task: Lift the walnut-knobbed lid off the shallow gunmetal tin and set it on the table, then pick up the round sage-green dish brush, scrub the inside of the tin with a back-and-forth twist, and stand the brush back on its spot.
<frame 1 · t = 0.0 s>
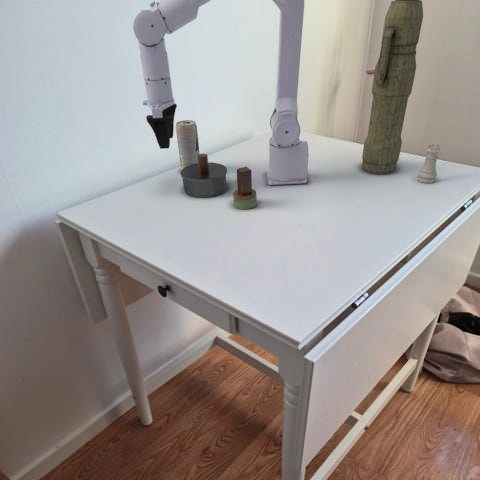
hand: (166, 142, 100), 10 cm above the table, tool pointing down, fingers open, 7 cm apart
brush: (245, 204, 96), on the table
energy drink: (191, 171, 114), on the table
rook chess piece: (425, 180, 102), on the table
tin: (205, 188, 104), on the table
green robed figurine: (378, 169, 109), on the table
tin lid: (204, 172, 101), point 4 cm above the table, touching tin
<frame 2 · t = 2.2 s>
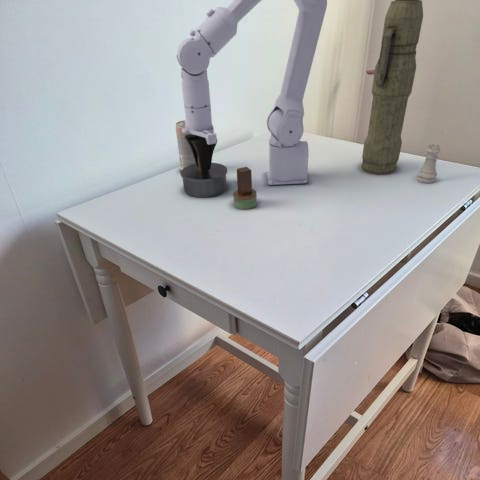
hand: (203, 167, 100), 5 cm above the table, tool pointing down, fingers closed on tin lid, 2 cm apart
tin lid: (204, 172, 101), point 4 cm above the table, touching gripper, tin
everything else where it was.
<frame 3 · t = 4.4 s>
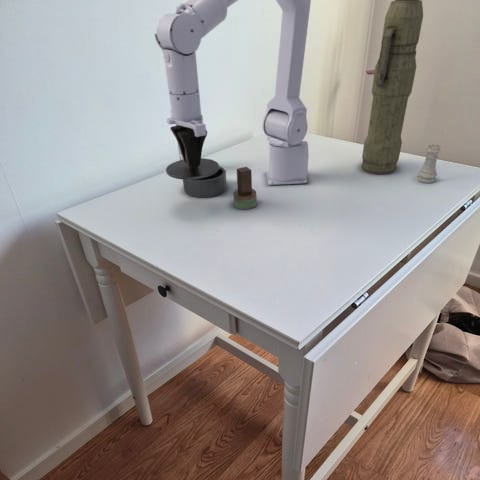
hand: (192, 163, 89), 10 cm above the table, tool pointing down, fingers closed on tin lid, 2 cm apart
tin lid: (192, 169, 89), point 9 cm above the table, touching gripper
everything else where it was.
when the fingers open (2 cm above the table, at t = 6.7 s): tin lid stays where it is, point 1 cm above the table.
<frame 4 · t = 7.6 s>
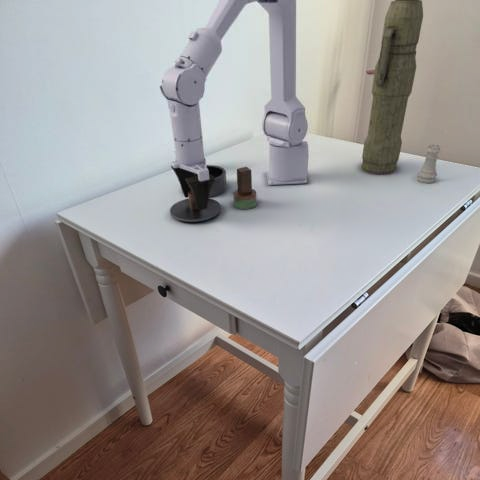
hand: (195, 202, 92), 2 cm above the table, tool pointing down, fingers open, 7 cm apart
tin lid: (195, 210, 93), point 1 cm above the table
everything else where it was.
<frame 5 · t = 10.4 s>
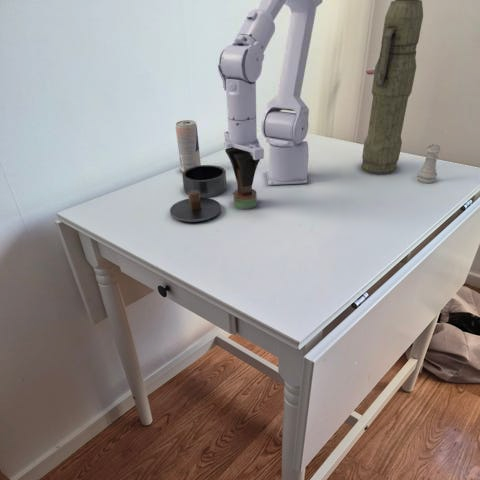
hand: (244, 183, 93), 5 cm above the table, tool pointing down, fingers closed on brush, 2 cm apart
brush: (245, 204, 96), on the table, touching gripper
everything else where it was.
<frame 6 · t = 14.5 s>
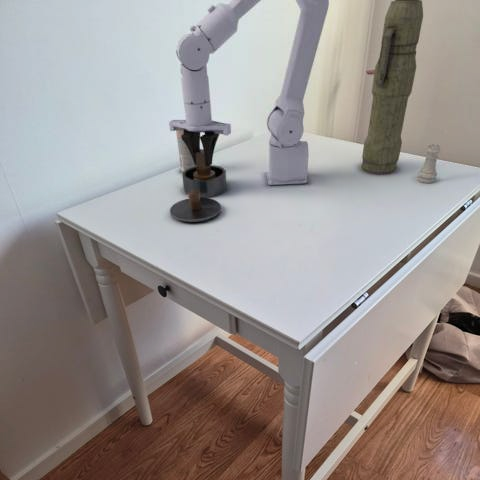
hand: (203, 164, 100), 6 cm above the table, tool pointing down, fingers closed on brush, 2 cm apart
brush: (205, 184, 103), point 1 cm above the table, touching gripper
everything else where it was.
when the fingers open (5 cm above the table, at t = 18.9 s): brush stays where it is, on the table.
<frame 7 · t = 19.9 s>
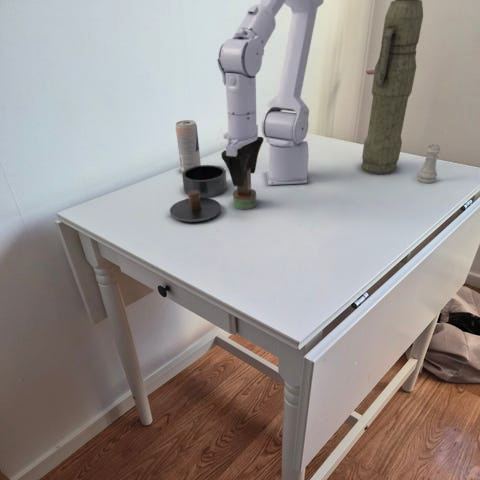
hand: (244, 179, 92), 6 cm above the table, tool pointing down, fingers open, 7 cm apart
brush: (244, 204, 96), on the table
everything else where it was.
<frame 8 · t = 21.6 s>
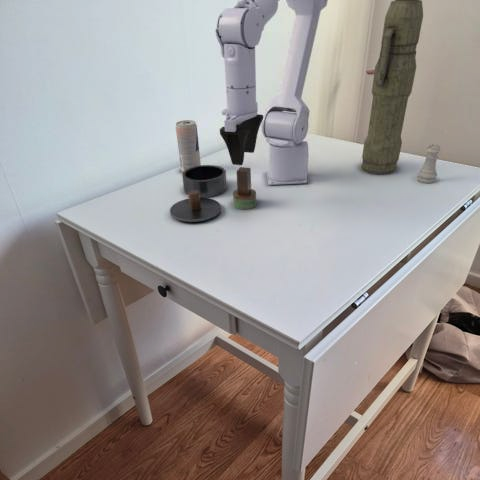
hand: (243, 158, 89), 10 cm above the table, tool pointing down, fingers open, 7 cm apart
nothing on the table moved.
at the end: tin lid inside the target area (0.1 cm from its centre), point 0.6 cm above the table; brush 0.1 cm from the target spot, on the table; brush tilted 0° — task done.
